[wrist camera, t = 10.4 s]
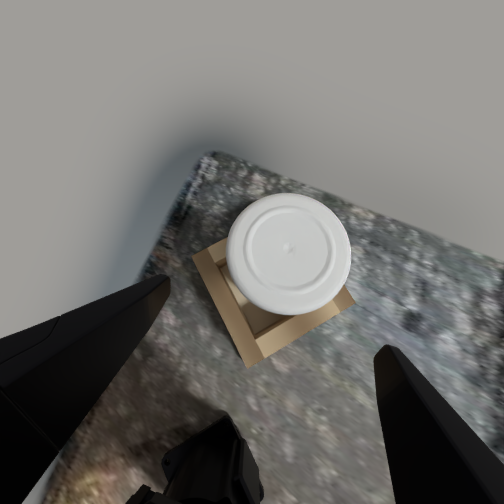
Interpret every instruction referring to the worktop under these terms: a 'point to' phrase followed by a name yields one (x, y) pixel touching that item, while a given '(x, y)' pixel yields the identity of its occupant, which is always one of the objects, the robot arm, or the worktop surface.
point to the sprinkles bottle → (288, 254)
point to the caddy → (257, 310)
